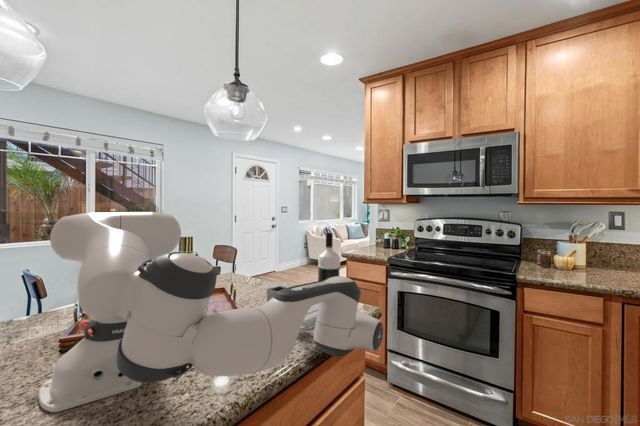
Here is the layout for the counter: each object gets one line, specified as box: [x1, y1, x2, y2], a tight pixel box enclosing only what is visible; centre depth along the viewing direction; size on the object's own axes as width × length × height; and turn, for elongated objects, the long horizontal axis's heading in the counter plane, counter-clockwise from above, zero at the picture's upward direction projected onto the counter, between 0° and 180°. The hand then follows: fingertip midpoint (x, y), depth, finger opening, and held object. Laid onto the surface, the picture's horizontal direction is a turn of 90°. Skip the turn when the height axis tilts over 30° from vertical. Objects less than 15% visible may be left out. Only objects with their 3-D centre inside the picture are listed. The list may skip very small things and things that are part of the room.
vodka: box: [317, 232, 341, 281], centre depth 115 cm, size 9×9×30 cm
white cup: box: [265, 281, 288, 299], centre depth 117 cm, size 8×8×10 cm
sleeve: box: [266, 286, 285, 302], centre depth 103 cm, size 8×8×11 cm
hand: (298, 308), depth 97 cm, fingers open, 8 cm apart
